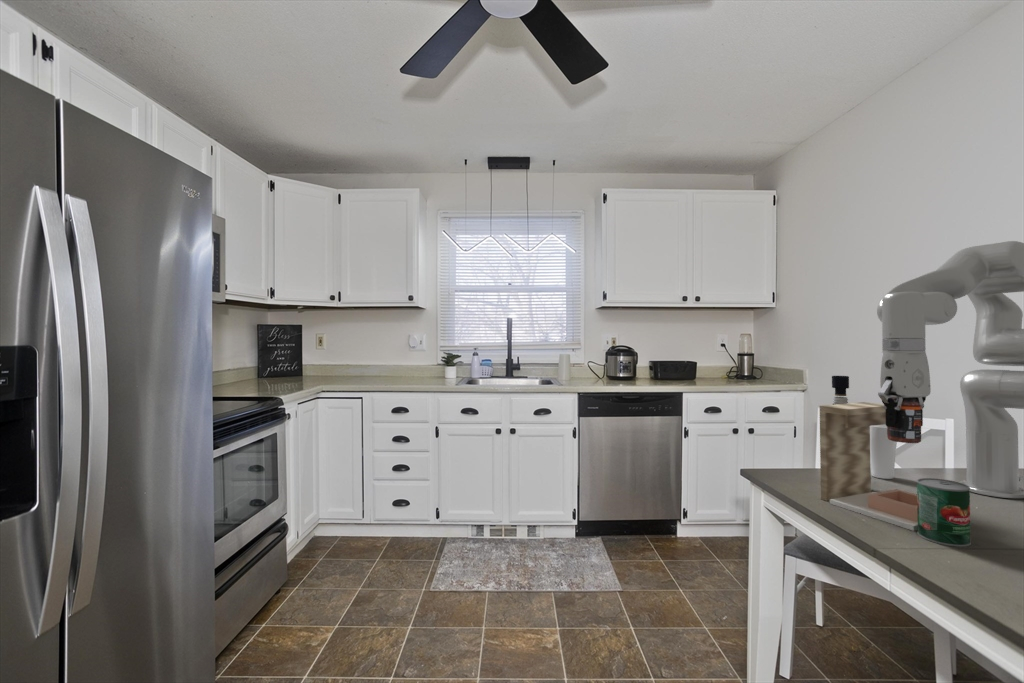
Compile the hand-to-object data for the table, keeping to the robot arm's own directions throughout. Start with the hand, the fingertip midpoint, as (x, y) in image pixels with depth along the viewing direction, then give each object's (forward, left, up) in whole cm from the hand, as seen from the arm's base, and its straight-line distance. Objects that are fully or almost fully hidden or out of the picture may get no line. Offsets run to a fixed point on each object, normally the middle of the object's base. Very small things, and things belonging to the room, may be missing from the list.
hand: (904, 425), depth 106 cm
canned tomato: (+6, +10, -21) cm, 24 cm away
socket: (0, -3, -20) cm, 21 cm away
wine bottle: (-9, -21, -21) cm, 31 cm away
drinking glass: (-27, -22, -21) cm, 41 cm away
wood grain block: (-1, -12, -20) cm, 23 cm away
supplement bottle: (0, 0, -4) cm, 4 cm away
